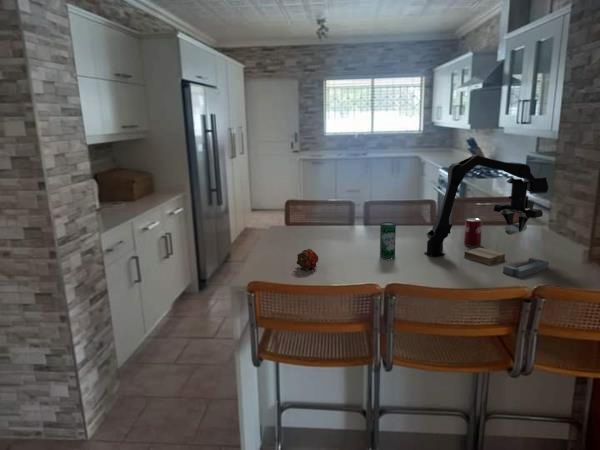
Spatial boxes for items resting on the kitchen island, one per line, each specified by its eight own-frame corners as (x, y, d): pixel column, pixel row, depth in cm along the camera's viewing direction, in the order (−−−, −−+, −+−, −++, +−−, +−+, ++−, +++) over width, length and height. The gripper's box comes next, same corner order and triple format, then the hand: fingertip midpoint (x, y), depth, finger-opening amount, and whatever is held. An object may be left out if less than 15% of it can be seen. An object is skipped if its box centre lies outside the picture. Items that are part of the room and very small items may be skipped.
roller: (513, 235, 184) (514, 226, 183) (504, 233, 188) (505, 224, 187) (526, 232, 189) (527, 222, 188) (517, 230, 192) (518, 221, 191)
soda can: (462, 246, 205) (464, 220, 202) (465, 242, 211) (466, 217, 209) (479, 247, 202) (481, 221, 199) (481, 243, 208) (483, 218, 205)
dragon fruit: (303, 277, 176) (307, 271, 188) (320, 264, 174) (324, 259, 186) (290, 259, 176) (296, 254, 188) (308, 247, 174) (312, 243, 186)
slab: (488, 265, 179) (489, 258, 179) (464, 258, 189) (464, 251, 189) (504, 260, 184) (504, 254, 184) (479, 254, 194) (480, 247, 194)
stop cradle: (520, 277, 164) (520, 271, 163) (503, 272, 170) (503, 266, 169) (548, 268, 173) (548, 262, 172) (530, 263, 179) (531, 257, 178)
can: (384, 260, 188) (384, 225, 185) (377, 256, 194) (378, 222, 191) (397, 258, 190) (397, 224, 186) (390, 254, 196) (391, 221, 192)
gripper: (552, 194, 181) (548, 231, 184) (510, 189, 196) (507, 223, 200) (536, 197, 175) (532, 236, 179) (494, 192, 191) (491, 227, 194)
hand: (515, 230), depth 188 cm, fingers closed on roller, 4 cm apart
